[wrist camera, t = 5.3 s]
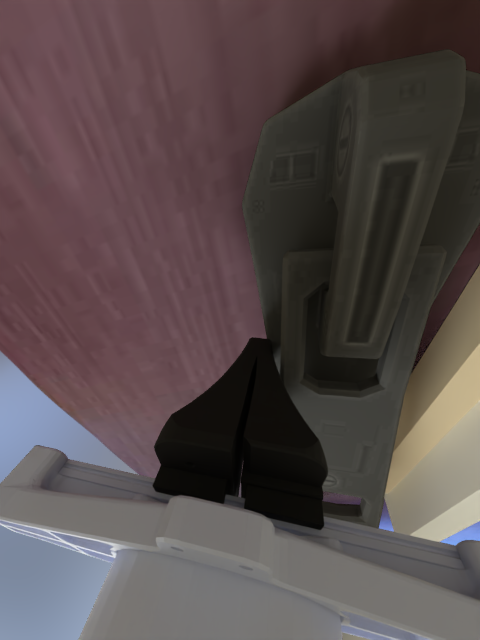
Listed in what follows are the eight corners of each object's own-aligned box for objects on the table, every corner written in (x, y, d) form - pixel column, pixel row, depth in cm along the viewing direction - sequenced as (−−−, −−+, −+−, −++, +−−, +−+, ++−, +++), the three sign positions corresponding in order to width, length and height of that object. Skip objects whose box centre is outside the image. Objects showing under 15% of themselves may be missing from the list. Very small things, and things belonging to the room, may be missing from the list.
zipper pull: (258, 519, 17) (176, 18, 4) (265, 436, 23) (243, 107, 9) (384, 544, 16) (1129, -255, 2) (360, 448, 21) (508, 58, 7)
